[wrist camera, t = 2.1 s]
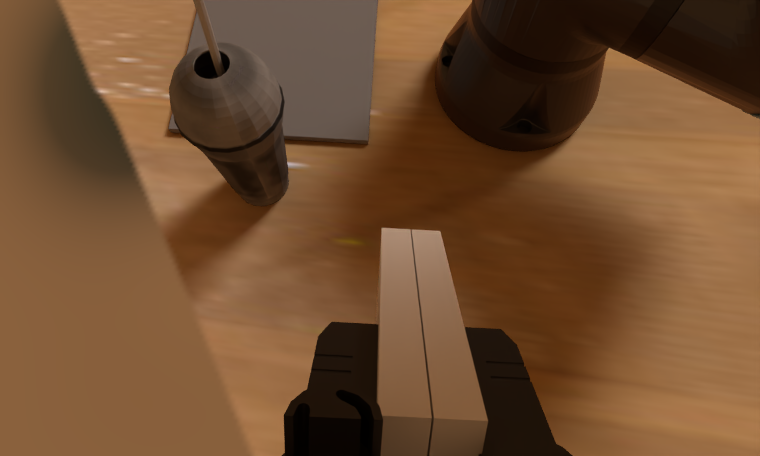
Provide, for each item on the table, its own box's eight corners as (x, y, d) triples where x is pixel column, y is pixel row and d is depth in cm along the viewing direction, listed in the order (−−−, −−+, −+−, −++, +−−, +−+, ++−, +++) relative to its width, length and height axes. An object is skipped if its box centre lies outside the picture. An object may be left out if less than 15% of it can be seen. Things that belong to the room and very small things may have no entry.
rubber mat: (222, -83, 54) (220, -88, 54) (382, -72, 55) (382, -77, 54) (170, 132, 44) (168, 128, 44) (367, 144, 45) (368, 140, 44)
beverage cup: (208, 210, 42) (83, 43, 23) (237, 139, 44) (144, -63, 26) (290, 229, 41) (230, 75, 23) (314, 156, 44) (277, -36, 25)
